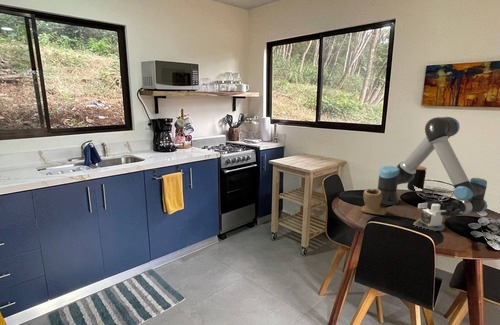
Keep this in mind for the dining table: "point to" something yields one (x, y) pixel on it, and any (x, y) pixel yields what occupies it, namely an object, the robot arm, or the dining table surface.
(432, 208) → the medicine bottle
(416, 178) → the coffee jar
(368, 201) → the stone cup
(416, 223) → the d plate
